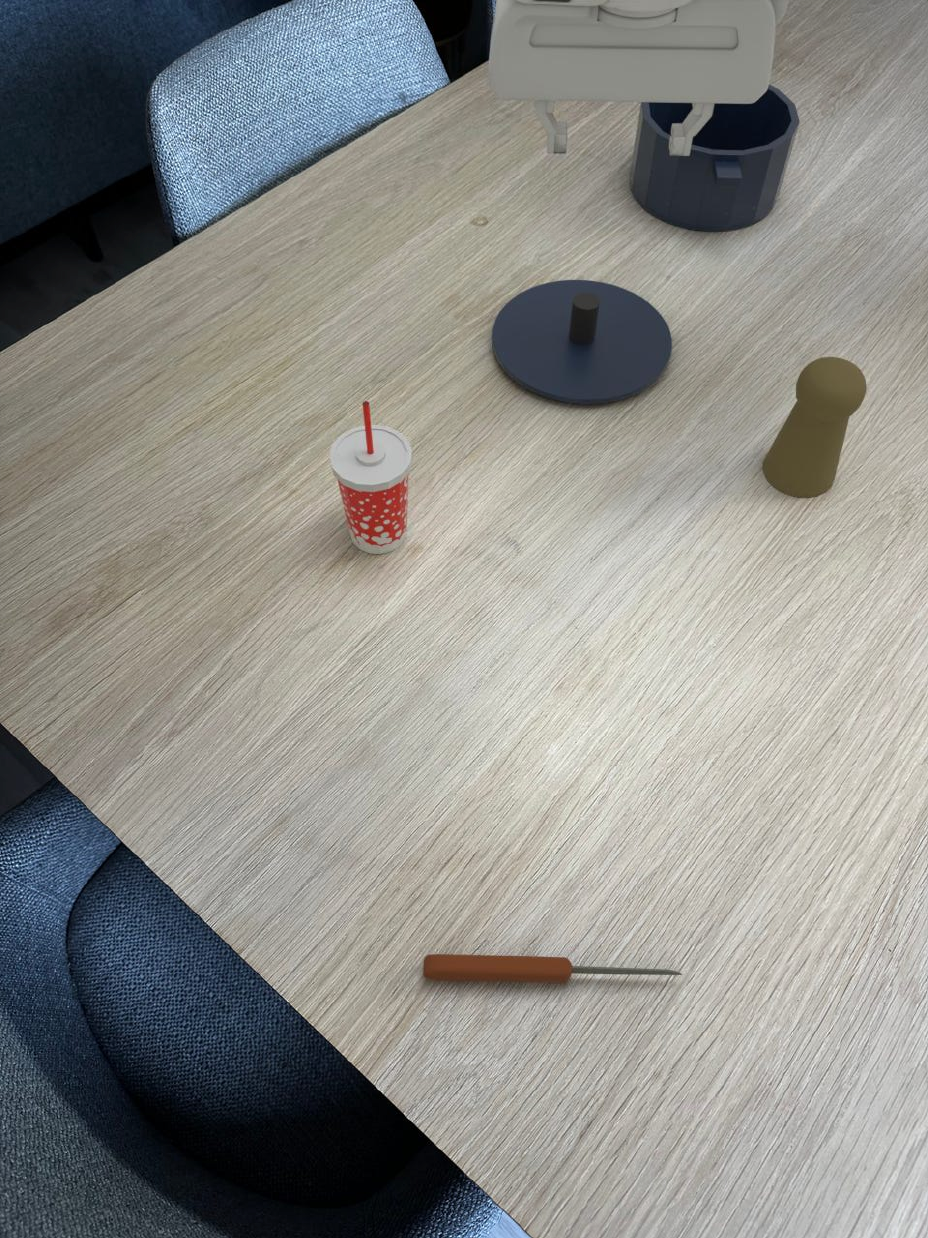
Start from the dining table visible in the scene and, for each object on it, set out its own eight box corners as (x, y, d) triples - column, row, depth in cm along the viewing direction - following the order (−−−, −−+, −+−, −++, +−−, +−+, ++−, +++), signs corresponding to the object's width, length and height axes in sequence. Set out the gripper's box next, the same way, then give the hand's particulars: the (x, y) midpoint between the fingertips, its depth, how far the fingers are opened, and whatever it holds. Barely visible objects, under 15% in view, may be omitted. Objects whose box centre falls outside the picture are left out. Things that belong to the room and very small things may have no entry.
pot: (763, 135, 117) (782, 58, 110) (790, 249, 105) (814, 172, 98) (624, 131, 117) (635, 55, 110) (636, 245, 105) (649, 168, 98)
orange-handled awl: (423, 983, 63) (422, 974, 62) (424, 960, 64) (423, 950, 63) (680, 990, 63) (687, 981, 62) (678, 967, 64) (684, 957, 62)
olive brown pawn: (781, 435, 90) (817, 334, 81) (846, 465, 88) (890, 365, 79) (749, 476, 87) (783, 377, 78) (816, 508, 85) (858, 410, 76)
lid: (663, 291, 101) (672, 245, 97) (677, 411, 92) (688, 366, 87) (493, 287, 101) (494, 240, 97) (489, 406, 92) (491, 361, 88)
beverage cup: (401, 569, 81) (392, 443, 70) (329, 551, 82) (308, 423, 71) (426, 512, 85) (421, 383, 73) (356, 496, 86) (340, 365, 74)
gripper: (792, -66, 70) (747, 130, 82) (491, -69, 71) (488, 126, 82) (806, -22, 67) (757, 176, 78) (488, -26, 67) (486, 171, 79)
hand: (617, 150), depth 80 cm, fingers open, 8 cm apart
